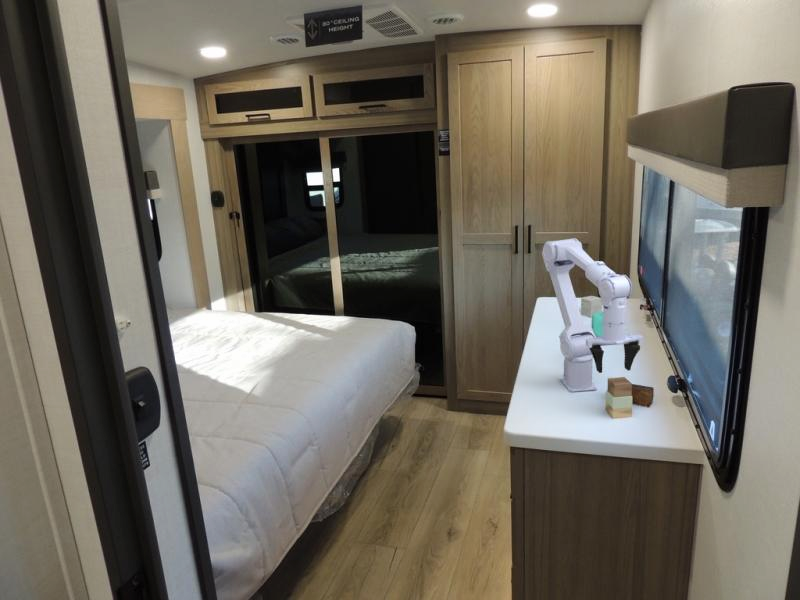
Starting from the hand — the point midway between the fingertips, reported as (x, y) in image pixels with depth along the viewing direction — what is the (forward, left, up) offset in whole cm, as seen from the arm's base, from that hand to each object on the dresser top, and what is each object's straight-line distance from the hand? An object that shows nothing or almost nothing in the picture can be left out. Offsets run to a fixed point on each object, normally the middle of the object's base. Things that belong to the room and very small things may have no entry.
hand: (613, 370), depth 156 cm
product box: (-84, +25, -11) cm, 88 cm away
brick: (-2, +6, -11) cm, 13 cm away
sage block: (+5, 0, -8) cm, 9 cm away
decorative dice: (-58, +20, -11) cm, 62 cm away
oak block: (+5, 0, -11) cm, 12 cm away
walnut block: (+5, 0, -5) cm, 7 cm away
